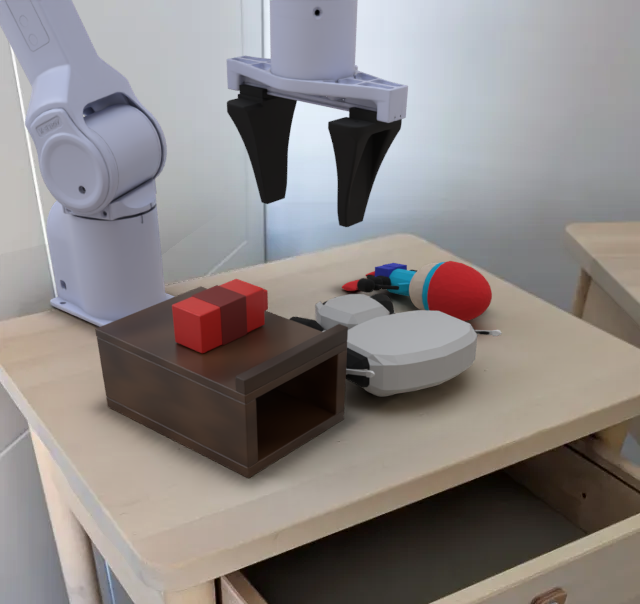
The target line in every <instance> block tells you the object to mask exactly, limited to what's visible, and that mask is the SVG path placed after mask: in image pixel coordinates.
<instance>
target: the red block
mask: <svg viewBox="0 0 640 604" xmlns="http://www.w3.org/2000/svg"><path fill="white" fill-rule="evenodd" d="M268 292H269V291H268V290H267V289H265V288H263V287H261V286H258V285H255V284H252V283H250V282H247V281H244V280H242V279H239V278H234V279H232V280H229V281H227V282H224V283H222V284H219V285H218V284H216V285H214V286H211V287H208V288H207V289H206V290H204V291H201V292H199V293H196V294H194V295H192V296H191V297H190V298H188V299H185V300H183V301H180V302H178V303H175V304H173V305H172V312H173V322H174V333H175V342H176V343H179V344H181V345H183V346H186V347H188V348H190V349H193V350H195V351H197V352H200V353H205V352H207V351H209V350H212V349H214V348H216V347H218V346H220V345H225V344H227V343H230V342H232V341H234V340H236V339H238V338H240V337H242V336H244V335H247V333H248V332H250V331H252V330H254V329H256V328H259V327H261V326H263V325H264V324H265V317H264V311H268V310H269V293H268Z"/></svg>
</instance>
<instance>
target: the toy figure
mask: <svg viewBox="0 0 640 604" xmlns="http://www.w3.org/2000/svg"><path fill="white" fill-rule="evenodd" d="M364 276H365V277H366V278H365V277H362V278H359V279H354V280H351V281H347V282H346V283H344V284H343V285H342V286H341V289H343V290H344V291H347V292H355V291H358V290H359V291H360V292H364V293H368V294H369V293H372V292H374V291H376V292H377V291H381V290H385V291H388V293H390V294H396V295H400V296H406V297H410V300H411V303H412V304H413V305H414V307H415V308H417V310H428V311H440V312H443V313H445V314H447V315H450V316H452V317H455V318H457V319H460V320H462V321H464V322H469V321H471V320H475V319H477V318H478V317H480V316H481V315H482V314H484V313H485V312H486V311H487V309H489V307H490V305H491V303H492V300H493V292H492V287H491V285H490V284H489V282H488V280H487V278H486V277H485V276H484V275H483V274H482V273H481V272H479V271H478V270H477V269H475V268H474V267H473V266H469V265H468V264H465V263H463V262H457V261H453V260H448V261H441V262H439V261H438V262H430V263H427V264H425V265H423V266H421V267H420V268H418V270H417V269H408V265H407V264H402V263H397V262H389V263H385V264H382V265H377V266H374V270H373V271H370V272H368V273H366V274H365V275H364Z"/></svg>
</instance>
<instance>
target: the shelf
mask: <svg viewBox="0 0 640 604" xmlns="http://www.w3.org/2000/svg"><path fill="white" fill-rule="evenodd" d="M206 289H208V288H207V287H205V286H201V285H200V286H198V287H195V288H194V289H191V290H188V291H186V292H183V293H181V294H178V295H176V296H175V297H173V298H170V299H168V300H165V301H163V302H161V303H158V304H156V305H153V306H151V307H148V308H146V309H143V310H141V311H138V312H136V313H133V314H131V315H128V316H126V317H123V318H121V319H118V320H116V321H113V322H111V323H108V324H106V325H103V326H101V327H99V326H97V327H96V328H94V329H95V336H96V341H97V347H98V354H99V359H100V360H99V361H100V367H101V372H102V373H101V374H102V379H103V380H102V381H103V386H104V392H105V398H106V406H107V407H108V408H110V409H112V410H114V411H115V412H117V413H120V415H123V416H125V417H127V418H129V419H131V420H132V421H133V420H134V421H135V422H137V423H139V424H141V425H143V426H145V427H146V428H149V429H151V430H153V431H154V432H157V433H159V434H161V435H162V436H165V437H167V438H169V439H170V440H172V441H175V442H176V443H178V444H180V445H182V446H184V447H186V448H189V449H191V450H192V451H194V452H195V453H198V454H200V455H202V456H204V457H206V458H208V459H210V460H212V461H213V462H216V463H218V464H220V465H222V466H223V467H226V468H227V469H229V470H232V471H234V472H236V473H237V474H240V475H241V476H243V477H245V478H246V479H247V478H248V479H249V478H252V477H253V476H255V475H256V474H257V473H259V472H261V471H262V470H264V469H265V468H267V467H269V466H271V465H273V464H274V463H275V462H277V461H279V460H280V459H282V458H283V457H286V456H287V455H289V454H290V453H291V452H293V451H295V450H297V449H298V448H300V447H301V446H303V445H304V444H306V443H307V442H309V441H311V440H313V439H314V438H316V437H317V436H319V435H320V434H322V433H324V432H325V431H327V430H329V429H331V428H332V427H333V426H335V425H337V424H339V423H340V422H342V421H343V420H345V406H346V380H347V379H346V361H347V338H348V327H346V326H344V325H341V324H338V325H336V326H334V327H332V328H330V329H328V330H326V331H324V332H321V331H319V330H316V329H313V328H311V327H308V326H305V325H303V324H300V323H297V322H295V321H292V320H289V319H290V318H286V317H284V316H282V315H279V314H276V313H273V312H271V311H268V310H266V311H264V317H265V324H264V325H263V326H261V327H259V328H256V329H254V330H252V331H250V332H248V333H247V335H244V336H242V337H240V338H238V339H236V340H234V341H232V342H230V343H227V344H225V345H220V346H218V347H216V348H214V349H212V350H209V351H207V352H205V353H200V352H197V351H195V350H193V349H190V348H188V347H186V346H183V345H181V344H179V343H176V342H175V333H174V322H173V312H172V305H173V304H175V303H178V302H180V301H183V300H185V299H188V298H190V297H191V296H192V295H194V294H196V293H199V292H201V291H204V290H206Z"/></svg>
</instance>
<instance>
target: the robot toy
mask: <svg viewBox="0 0 640 604" xmlns="http://www.w3.org/2000/svg"><path fill="white" fill-rule="evenodd" d="M314 309H315V311H314V312H315V319H311V318H307V317H301V316H291V317H290V318H288V319H289V320H292V321H295V322H297V323H300V324H303V325H305V326H308V327H311V328H313V329H316V330H319V331H321V332H324V331H326V330H328V329H330V328H332V327H334V326H336V325H338V324H341V325H344V326H346V327H348V338H347V361H346V380H347V381H349V382H350V383H352V384H354V385H356V386H358V387H359V388H362V389H363V390H365V392H367V393H369V394H372V395H374V396H375V397H376V396H377V397H381V398H382V397H390V396H394V395H397V394H405V393H410V392H416V391H419V390H420V391H421V390H424V389H427V388H432V387H435V386H439V385H442V384H443V383H446V382H448V381H450V380H452V379H454V378H455V377H458V376H459V375H460V374H462V373H463V372H465V371H466V370H468V369H469V368H470V367H472V366H473V365H474V362H475V361H476V357H477V356H476V355H477V343H478V336H479V335H482V336H492V337H499V336H501V335H502V334H503V333H502V332H501V331H502V330H500V329H493V330H489V329H488V330H487V329H474V327H473V326H472V324H471V323H469V322H468V321H462V320H460V319H457V318H455V317H452V316H450V315H447V314H445V313H443V312H440V311H428V310H420V309H417V310H408V311H401V312H395V309H394V304H393V301H392V300H391V298H390V296H388V295H387V294H384V293H375V294H372V295H367V294H364V293H349V294H345V295H339V296H334V297H333V298H329V299H327V300H326V301H323V302H322V301H321V300H320V301H318V302H317V303H315V304H314Z"/></svg>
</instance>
